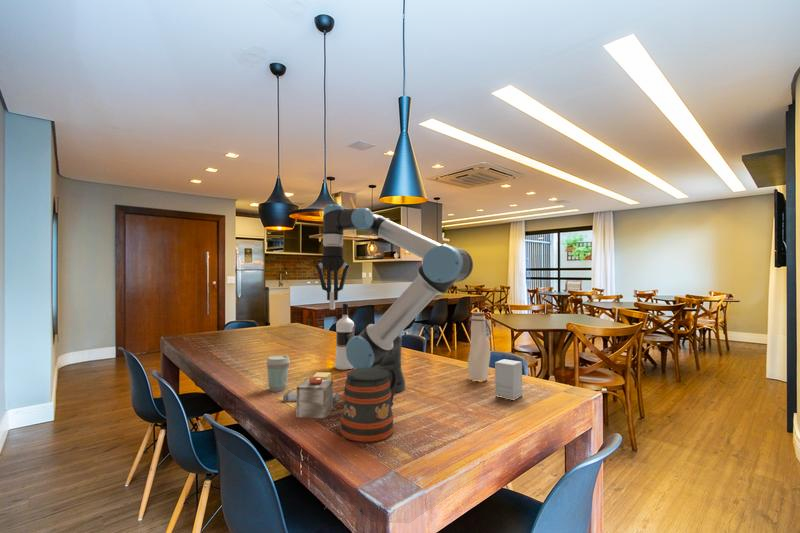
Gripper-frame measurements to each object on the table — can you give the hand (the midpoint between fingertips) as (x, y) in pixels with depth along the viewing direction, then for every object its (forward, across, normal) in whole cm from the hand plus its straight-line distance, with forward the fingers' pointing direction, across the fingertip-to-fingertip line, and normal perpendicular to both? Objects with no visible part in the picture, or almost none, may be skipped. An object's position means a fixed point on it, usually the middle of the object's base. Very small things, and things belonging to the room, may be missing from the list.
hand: (332, 309), depth 144 cm
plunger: (+25, +1, +23) cm, 34 cm away
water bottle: (+31, -58, -19) cm, 69 cm away
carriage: (+30, +1, +11) cm, 32 cm away
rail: (+30, +5, +11) cm, 33 cm away
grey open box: (+30, +1, +23) cm, 38 cm away
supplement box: (+31, -65, +4) cm, 72 cm away
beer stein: (+31, -18, +35) cm, 50 cm away
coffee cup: (+30, +20, -1) cm, 37 cm away
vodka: (+30, +1, -36) cm, 47 cm away
